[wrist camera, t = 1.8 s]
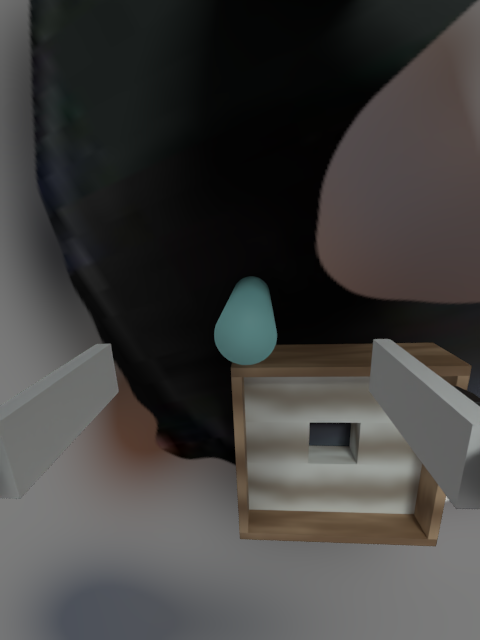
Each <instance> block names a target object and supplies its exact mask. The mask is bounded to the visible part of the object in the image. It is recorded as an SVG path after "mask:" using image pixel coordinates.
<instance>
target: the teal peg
mask: <svg viewBox="0 0 480 640" xmlns="http://www.w3.org/2000/svg"><path fill="white" fill-rule="evenodd" d="M214 339H215V343H216V346H217V348H218V350H219V352H220V353H221V354H222V355H223V356H224V357H225V358H226V359H228V360H229V361H231V362H233V363H236V364H240V365H252V364H256V363H259V362H261V361H263V360H264V359H266V358H267V357H268V356H269V355H270V354H271V353H272V351H273V349H274V347H275V345H276V341H277V331H276V325H275V320H274V314H273V309H272V303H271V298H270V292H269V288H268V286H267V284H266V283H265V282H264V281H263V280H262V279H260V278H258V277H254V276H248V277H245V278H243V279H241V280H240V281H239V282H238V283H237V284H236V286H235V288H234V290H233V292H232V294H231V296H230V298H229V300H228V302H227V304H226V306H225V308H224V310H223V312H222V314H221V316H220V318H219V319H218V321H217V324H216V326H215V331H214Z"/></svg>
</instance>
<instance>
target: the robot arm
mask: <svg viewBox="0 0 480 640" xmlns="http://www.w3.org/2000/svg"><path fill="white" fill-rule="evenodd" d="M369 391H370V393H371V394H372V396H373V397H374V398H375V400H376V401H377V402H378V404H379V405H380V406H381V408H382V409H383V410H384V412H385V413H386V415H387V416H388V417H389V419H390V420H391V421H392V423H393V424H394V425H395V427H396V428H397V430H398V431H399V432H400V434H401V435H402V436H403V438H404V439H405V440H406V442H407V443H408V444H409V446H410V447H411V449H412V450H413V451H414V453H415V454H416V455H417V457H418V458H419V459H420V461H421V462H422V463H423V465H424V466H425V468H426V469H427V470H428V472H429V473H430V474H431V476H432V477H433V478H434V480H435V481H436V483H437V484H438V485H439V487H440V488H441V489H442V491H443V492H444V493H445V495H446V496H447V497H448V499H449V500H450V502H451V503H452V504H453V506H454V507H455V508H456V509H480V398H479V397H477V396H476V395H475V394H473V393H471V392H469V391H467V390H465V389H462V388H460V387H458V386H452V385H451V384H449V383H448V382H447V381H445V380H444V379H443V378H441V377H440V376H439V375H437V374H436V373H435V372H433V371H432V370H431V369H429V368H428V367H427V366H425V365H424V364H423V363H421V362H420V361H419V360H417V359H416V358H415V357H413V356H412V355H411V354H409V353H408V352H407V351H405V350H404V349H403V348H401V347H400V346H399V345H397V344H396V343H395V342H393V341H392V340H391V339H373V350H372V361H371V372H370V383H369ZM118 392H119V390H118V384H117V378H116V372H115V367H114V361H113V355H112V349H111V344H96V345H94V346H93V347H91V348H89V349H88V350H86V351H85V352H83V353H82V354H80V355H78V356H77V357H75V358H74V359H72V360H71V361H69V362H67V363H66V364H65V365H63V366H61V367H60V368H58V369H57V370H55V371H54V372H52V373H50V374H49V375H47V376H46V377H44V378H42V379H41V380H40V381H38V382H36V383H35V384H33V385H32V386H30V387H28V388H27V389H25V390H24V391H22V392H21V393H19V394H17V395H16V396H14V397H13V398H11V399H10V400H8V401H7V402H5V403H3V404H2V405H0V498H15V499H17V498H18V499H20V498H22V496H23V495H24V494H25V493H26V492H27V491H28V490H29V489H30V488H31V487H32V486H33V485H34V483H35V482H36V481H37V480H38V479H39V478H40V477H41V476H42V475H43V474H44V473H45V471H46V470H47V469H48V468H49V467H50V466H51V465H52V464H53V463H54V462H55V461H56V460H57V458H58V457H59V456H60V455H61V454H62V453H63V452H64V451H65V450H66V449H67V448H68V446H69V445H70V444H71V443H72V442H73V441H74V440H75V439H76V438H77V437H78V436H79V435H80V433H81V432H82V431H83V430H84V429H85V428H86V427H87V426H88V425H89V424H90V422H91V421H92V420H93V419H94V418H95V417H96V416H97V415H98V414H99V413H100V412H101V411H102V410H103V408H104V407H105V406H106V405H107V404H108V403H109V402H110V401H111V399H113V398H114V397H115V395H116V394H117V393H118Z"/></svg>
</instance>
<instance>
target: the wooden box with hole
mask: <svg viewBox="0 0 480 640" xmlns="http://www.w3.org/2000/svg"><path fill="white" fill-rule="evenodd" d="M396 344H397V345H399V346H400V347H401V348H403V349H404V350H405V351H407V352H408V353H409V354H411V355H412V356H413V357H415V358H416V359H417V360H419V361H420V362H421V363H423V364H424V365H425V366H427V367H428V368H429V369H431V370H432V371H433V372H435V373H436V374H437V375H439V376H440V377H441V378H443V379H444V380H445V381H447V382H448V383H449V384H451V385H452V386H458V387H460V388H462V389H465V390H467V387H468V382H469V377H470V372H471V367H472V366H471V365H469V364H467V363H466V362H464V361H463V360H461V359H459V358H458V357H456V356H454V355H453V354H451V353H449V352H448V351H446V350H444V349H443V348H441V347H439V346H438V345H436V344H434V343H396ZM372 350H373V344H310V345H275V347H274V349H273V351H272V353H271V354H270V355H269V356H268V357H267V358H266V359H264V360H263V361H261V362H259V363H256V364H252V365H240V364H236V363H233V362H232V365H231V381H232V399H233V418H234V436H235V455H236V471H237V491H238V509H239V510H238V511H239V529H240V539H252V540H279V541H281V540H282V541H306V542H333V543H361V544H390V545H417V546H436V544H437V539H438V534H439V529H440V524H441V519H442V513H443V508H444V503H445V498H446V495H445V493H444V492H443V491H442V489H441V488H440V487H439V485H438V484H437V483H436V481H435V480H434V478H433V477H432V476H431V474H430V473H429V472H428V470H427V469H426V468H425V466H424V465H423V463H422V462H421V461H420V459H419V458H418V457H417V455H416V454H415V453H414V451H413V450H412V449H411V447H410V446H409V444H408V443H407V442H406V440H405V439H404V438H403V436H402V435H401V434H400V432H399V431H398V430H397V428H396V427H395V425H394V424H393V423H392V421H391V420H390V419H389V417H388V416H387V415H386V413H385V412H384V410H383V409H382V408H381V406H380V405H379V404H378V402H377V401H376V400H375V398H374V397H373V396H372V394H371V393H370V391H369V383H370V372H371V361H372ZM310 422H311V423H351V432H350V445H349V446H309V425H310Z"/></svg>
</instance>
